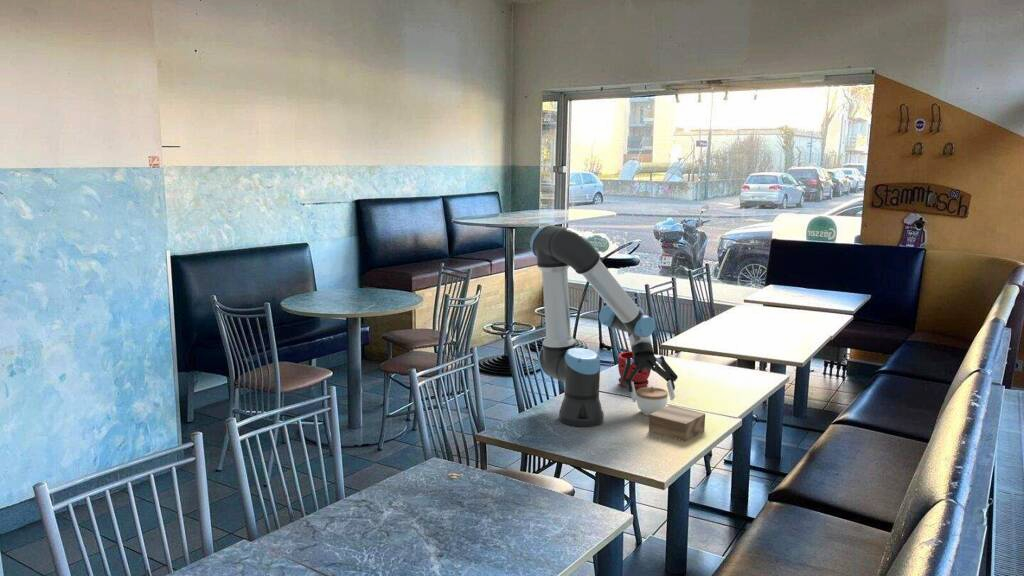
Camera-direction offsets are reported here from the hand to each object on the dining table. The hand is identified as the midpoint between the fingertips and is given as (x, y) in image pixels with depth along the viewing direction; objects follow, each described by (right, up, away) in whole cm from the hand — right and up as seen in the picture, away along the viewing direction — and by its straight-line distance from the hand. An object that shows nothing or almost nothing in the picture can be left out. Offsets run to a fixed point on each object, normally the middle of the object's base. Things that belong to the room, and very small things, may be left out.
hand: (654, 399), depth 252 cm
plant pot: (-1, 0, +34) cm, 34 cm away
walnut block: (+4, -8, -15) cm, 18 cm away
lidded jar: (-1, -5, +2) cm, 6 cm away
